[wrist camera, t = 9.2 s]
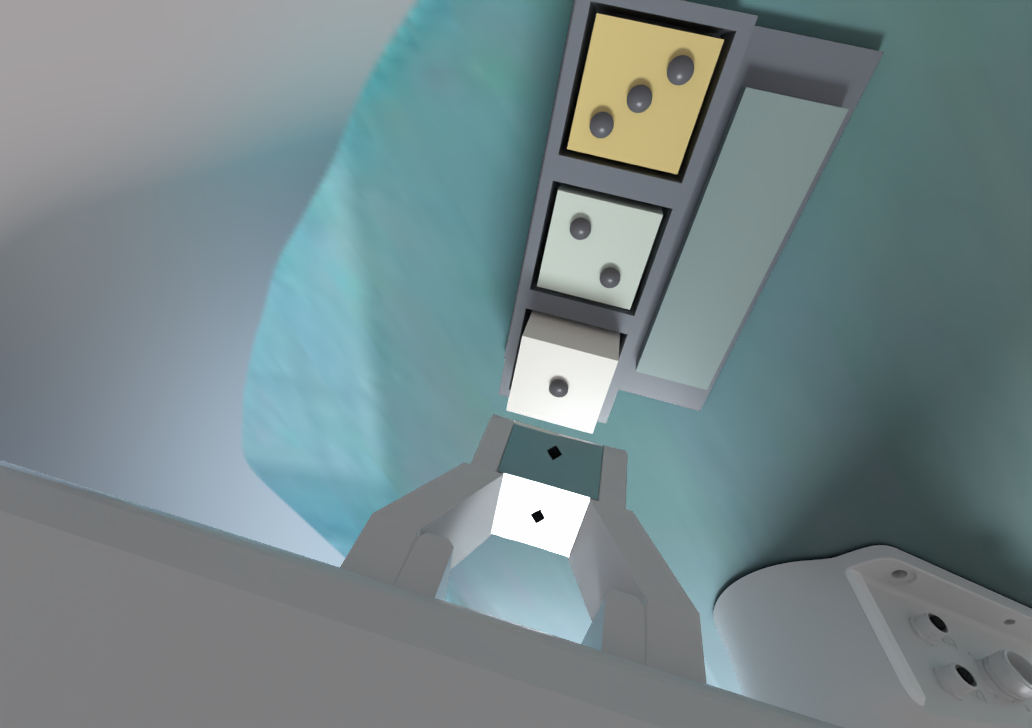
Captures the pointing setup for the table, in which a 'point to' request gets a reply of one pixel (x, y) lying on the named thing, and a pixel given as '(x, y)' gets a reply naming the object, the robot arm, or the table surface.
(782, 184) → the console
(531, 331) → the tile one
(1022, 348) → the table surface
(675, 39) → the tile three
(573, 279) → the tile two
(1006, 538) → the table surface
